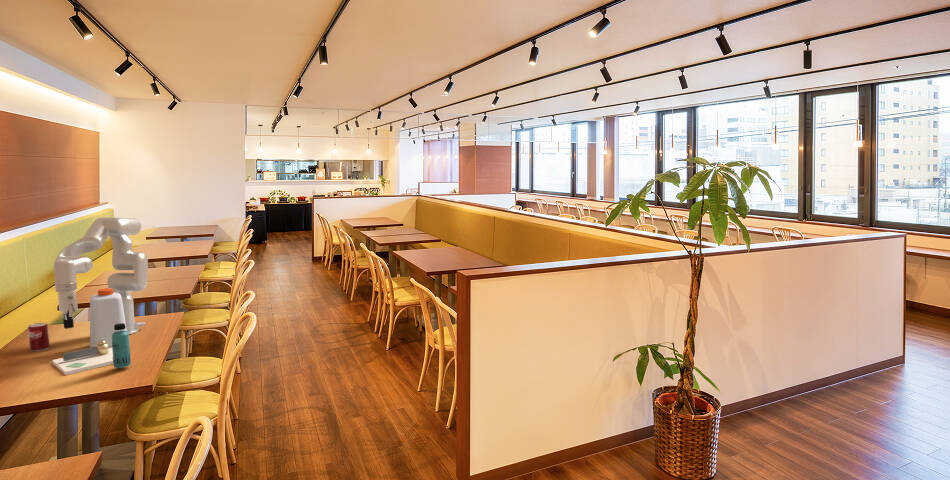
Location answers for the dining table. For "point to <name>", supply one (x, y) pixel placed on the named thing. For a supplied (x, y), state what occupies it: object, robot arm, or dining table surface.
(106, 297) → the plastic bottle
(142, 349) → the dining table surface
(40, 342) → the soda can
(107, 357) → the dial plate
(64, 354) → the lever
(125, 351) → the beverage bottle
